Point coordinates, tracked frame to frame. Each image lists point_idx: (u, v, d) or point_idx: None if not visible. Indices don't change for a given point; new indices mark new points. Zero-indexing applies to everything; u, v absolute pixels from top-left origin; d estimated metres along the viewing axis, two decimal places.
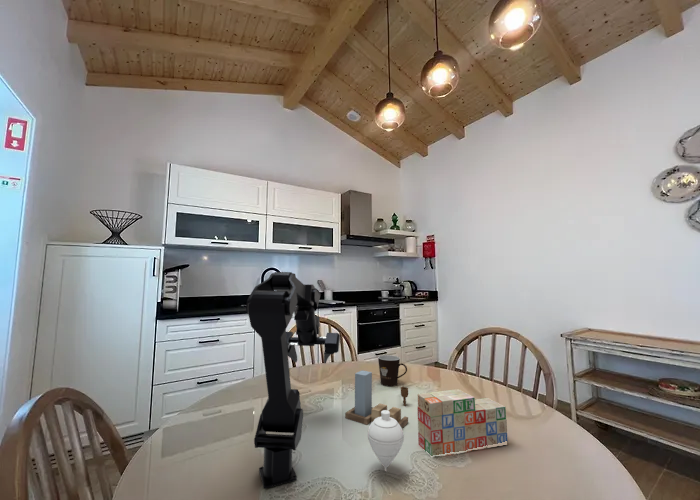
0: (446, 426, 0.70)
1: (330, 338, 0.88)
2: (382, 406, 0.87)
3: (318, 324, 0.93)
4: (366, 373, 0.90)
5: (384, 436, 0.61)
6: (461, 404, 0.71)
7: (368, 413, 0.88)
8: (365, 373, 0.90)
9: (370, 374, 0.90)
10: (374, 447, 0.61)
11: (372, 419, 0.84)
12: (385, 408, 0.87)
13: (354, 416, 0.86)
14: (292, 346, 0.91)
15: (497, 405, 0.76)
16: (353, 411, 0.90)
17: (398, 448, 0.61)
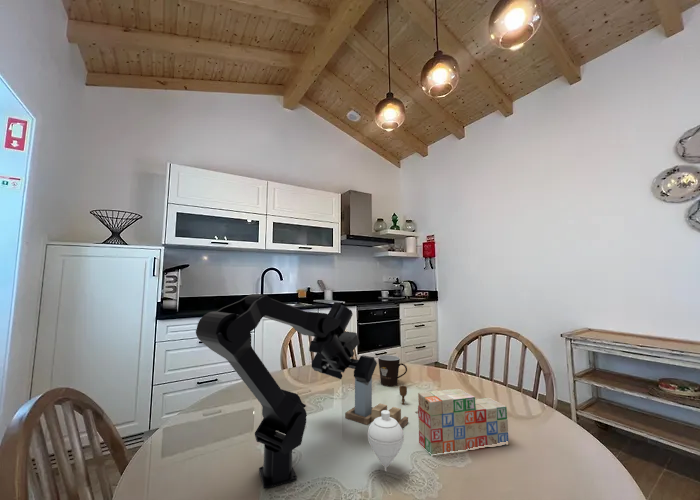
0: (446, 425, 0.70)
1: (361, 365, 0.77)
2: (382, 406, 0.87)
3: (354, 344, 0.83)
4: None
5: (384, 436, 0.61)
6: (461, 403, 0.72)
7: (368, 413, 0.88)
8: None
9: None
10: (374, 447, 0.61)
11: (372, 419, 0.84)
12: (385, 408, 0.87)
13: (354, 416, 0.86)
14: None
15: (498, 405, 0.76)
16: (353, 411, 0.90)
17: (398, 448, 0.61)
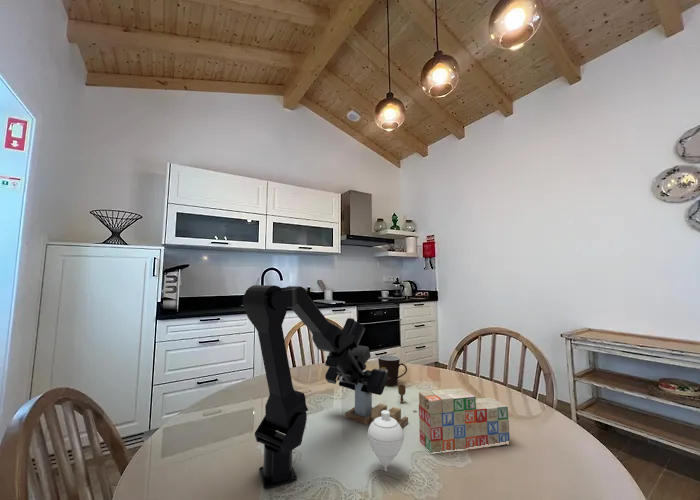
0: (446, 424, 0.71)
1: (373, 378, 0.82)
2: (382, 406, 0.87)
3: (366, 357, 0.87)
4: None
5: (384, 436, 0.61)
6: (461, 402, 0.72)
7: (368, 413, 0.88)
8: None
9: None
10: (374, 447, 0.61)
11: (372, 419, 0.84)
12: (385, 408, 0.87)
13: (354, 416, 0.86)
14: None
15: (499, 404, 0.76)
16: (353, 411, 0.90)
17: (398, 448, 0.61)
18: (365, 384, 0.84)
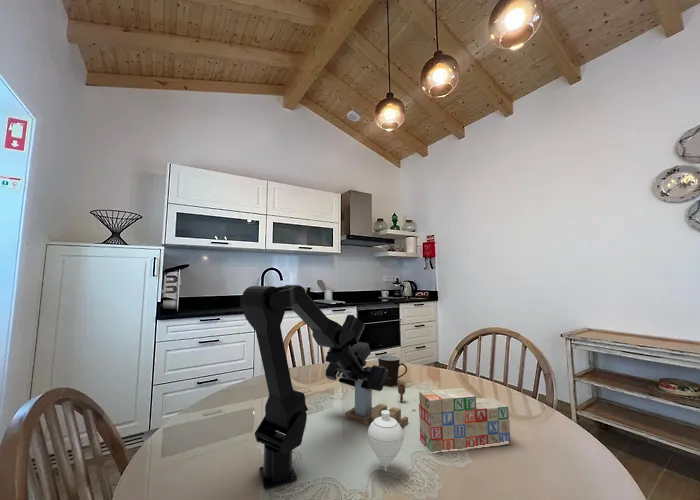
0: (446, 423, 0.71)
1: (373, 374, 0.82)
2: (382, 406, 0.87)
3: (366, 354, 0.88)
4: None
5: (384, 436, 0.61)
6: (461, 402, 0.72)
7: (368, 409, 0.88)
8: None
9: None
10: (374, 447, 0.61)
11: (372, 419, 0.84)
12: (385, 408, 0.87)
13: (354, 416, 0.86)
14: None
15: (500, 404, 0.76)
16: (353, 411, 0.90)
17: (398, 448, 0.61)
18: (365, 380, 0.84)
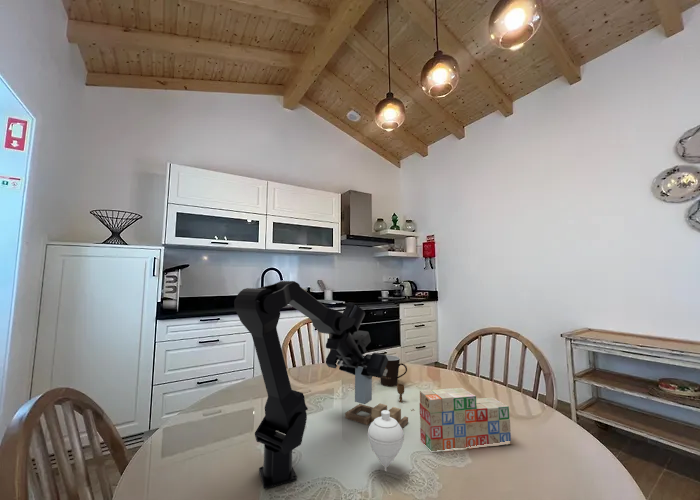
0: (446, 423, 0.71)
1: (373, 361, 0.82)
2: (382, 406, 0.87)
3: (366, 342, 0.88)
4: None
5: (384, 436, 0.61)
6: (461, 402, 0.73)
7: (368, 397, 0.89)
8: None
9: None
10: (374, 447, 0.61)
11: (372, 419, 0.84)
12: (385, 408, 0.87)
13: (354, 416, 0.86)
14: None
15: (501, 404, 0.76)
16: (353, 411, 0.90)
17: (398, 448, 0.61)
18: (365, 368, 0.84)
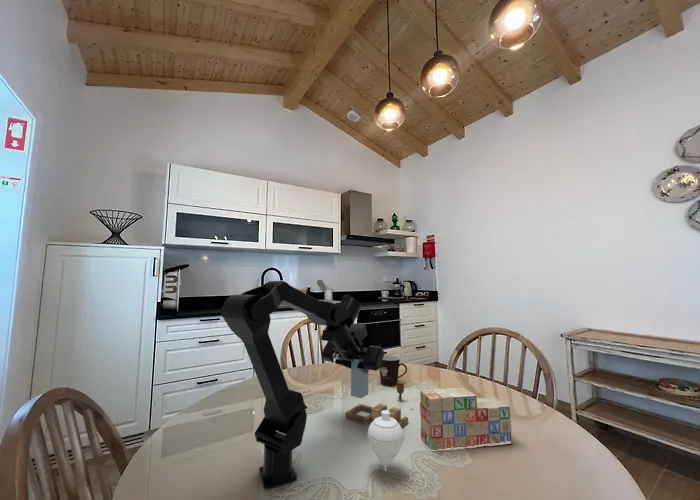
0: (446, 422, 0.72)
1: (370, 354, 0.81)
2: (382, 406, 0.87)
3: (362, 335, 0.87)
4: None
5: (384, 436, 0.61)
6: (462, 401, 0.73)
7: (364, 391, 0.87)
8: None
9: None
10: (374, 447, 0.61)
11: (372, 419, 0.84)
12: (385, 408, 0.87)
13: (354, 416, 0.86)
14: None
15: (501, 404, 0.76)
16: (353, 411, 0.90)
17: (398, 448, 0.61)
18: (361, 361, 0.83)
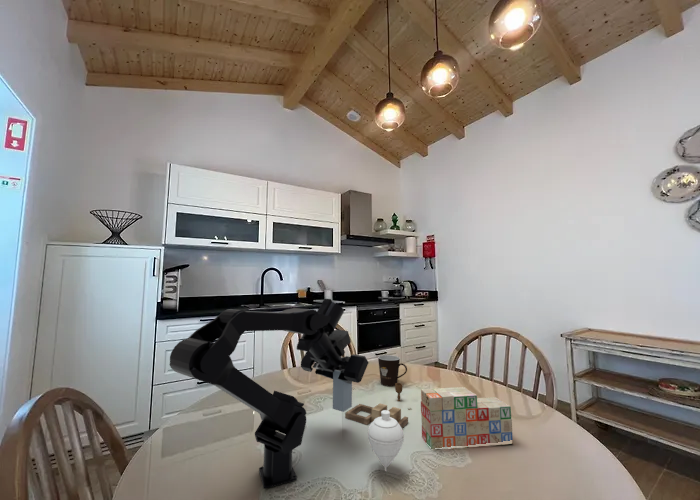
0: (446, 421, 0.72)
1: (351, 364, 0.73)
2: (382, 406, 0.87)
3: (345, 342, 0.79)
4: None
5: (384, 436, 0.61)
6: (462, 400, 0.73)
7: (347, 404, 0.80)
8: None
9: None
10: (374, 447, 0.61)
11: (372, 419, 0.84)
12: (385, 408, 0.87)
13: (354, 416, 0.86)
14: None
15: (502, 404, 0.76)
16: (353, 411, 0.90)
17: (398, 448, 0.61)
18: (343, 371, 0.76)
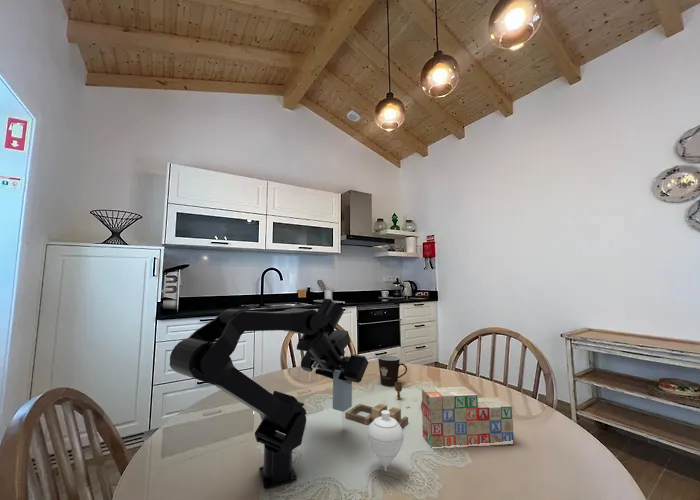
0: (447, 420, 0.73)
1: (351, 364, 0.73)
2: (382, 406, 0.87)
3: (345, 342, 0.79)
4: None
5: (384, 436, 0.61)
6: (462, 400, 0.74)
7: (347, 404, 0.80)
8: None
9: None
10: (374, 447, 0.61)
11: (372, 419, 0.84)
12: (385, 408, 0.87)
13: (354, 416, 0.86)
14: None
15: (503, 404, 0.76)
16: (353, 411, 0.90)
17: (398, 448, 0.61)
18: (343, 371, 0.76)
